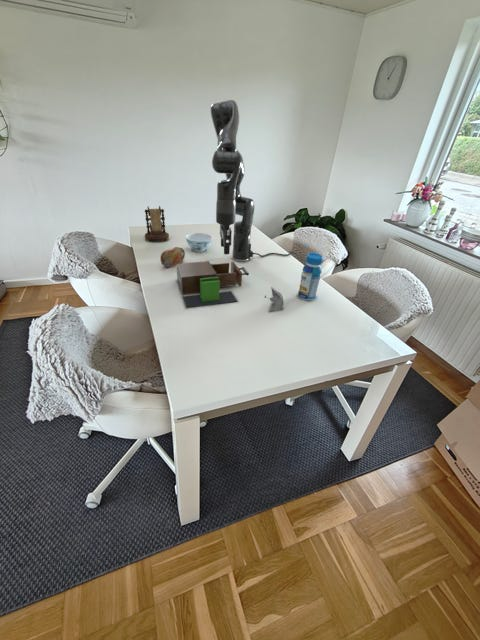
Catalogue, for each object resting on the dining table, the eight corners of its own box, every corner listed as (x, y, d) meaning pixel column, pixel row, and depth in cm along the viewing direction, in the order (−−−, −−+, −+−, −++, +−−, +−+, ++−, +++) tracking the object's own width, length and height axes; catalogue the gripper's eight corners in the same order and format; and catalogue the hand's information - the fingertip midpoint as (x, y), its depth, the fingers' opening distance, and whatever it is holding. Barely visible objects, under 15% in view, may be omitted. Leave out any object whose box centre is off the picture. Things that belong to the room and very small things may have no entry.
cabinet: (208, 277, 150) (208, 261, 145) (216, 291, 138) (216, 274, 134) (177, 280, 145) (176, 263, 140) (182, 294, 134) (181, 277, 129)
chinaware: (216, 249, 182) (216, 236, 177) (201, 256, 171) (201, 243, 167) (197, 243, 188) (197, 231, 184) (181, 250, 177) (180, 237, 173)
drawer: (241, 273, 154) (242, 260, 150) (250, 285, 143) (251, 272, 139) (204, 276, 148) (204, 263, 144) (211, 289, 138) (211, 275, 134)
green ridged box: (216, 295, 134) (217, 275, 129) (219, 300, 131) (219, 279, 125) (200, 297, 132) (199, 276, 126) (202, 302, 129) (202, 281, 123)
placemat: (230, 291, 138) (230, 291, 138) (236, 301, 131) (237, 300, 131) (183, 297, 132) (183, 296, 132) (186, 307, 125) (186, 306, 125)
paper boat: (286, 311, 125) (266, 306, 122) (279, 317, 130) (260, 312, 128) (287, 286, 130) (267, 281, 127) (280, 293, 135) (261, 288, 133)
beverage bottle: (315, 302, 135) (325, 260, 124) (297, 299, 136) (304, 257, 125) (315, 293, 142) (324, 253, 131) (297, 291, 143) (305, 250, 132)
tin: (164, 269, 154) (162, 253, 150) (160, 267, 156) (158, 252, 151) (185, 261, 164) (184, 246, 160) (181, 259, 166) (180, 244, 161)
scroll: (146, 243, 183) (142, 209, 171) (143, 235, 194) (139, 203, 183) (171, 241, 187) (168, 208, 176) (166, 234, 199) (164, 202, 188)
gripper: (239, 215, 111) (236, 256, 121) (232, 205, 123) (230, 243, 132) (218, 215, 110) (218, 257, 119) (214, 205, 121) (213, 244, 131)
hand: (224, 250), depth 126 cm, fingers open, 8 cm apart
